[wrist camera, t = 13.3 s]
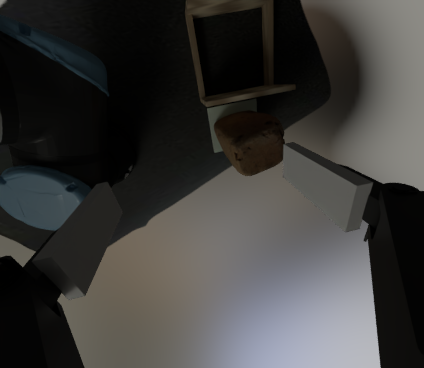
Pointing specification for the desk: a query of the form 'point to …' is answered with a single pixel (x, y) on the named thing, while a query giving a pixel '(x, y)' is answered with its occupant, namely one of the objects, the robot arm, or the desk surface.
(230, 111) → the mat
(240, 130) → the brown potato
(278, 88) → the cradle
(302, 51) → the desk surface
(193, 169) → the desk surface
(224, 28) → the desk surface
